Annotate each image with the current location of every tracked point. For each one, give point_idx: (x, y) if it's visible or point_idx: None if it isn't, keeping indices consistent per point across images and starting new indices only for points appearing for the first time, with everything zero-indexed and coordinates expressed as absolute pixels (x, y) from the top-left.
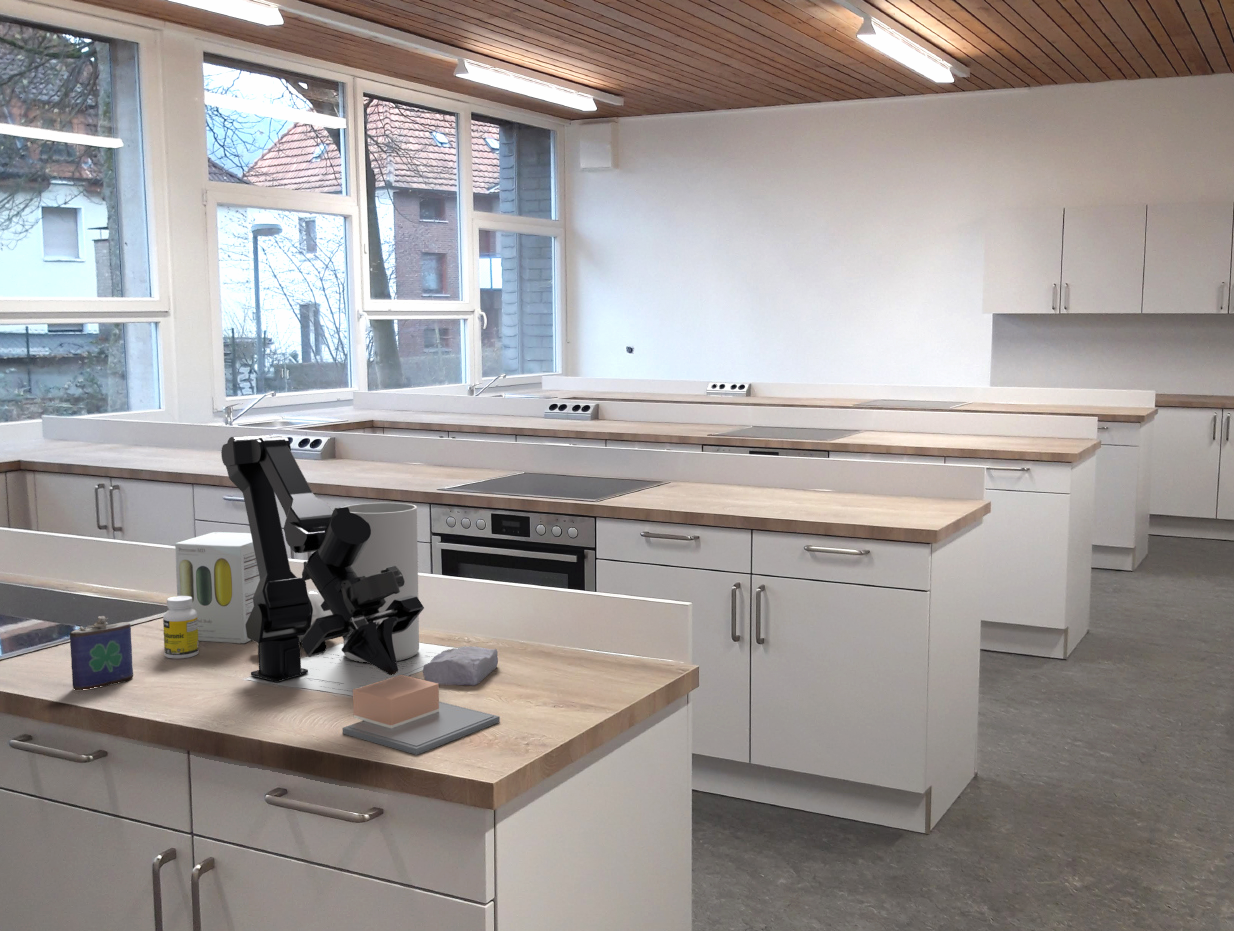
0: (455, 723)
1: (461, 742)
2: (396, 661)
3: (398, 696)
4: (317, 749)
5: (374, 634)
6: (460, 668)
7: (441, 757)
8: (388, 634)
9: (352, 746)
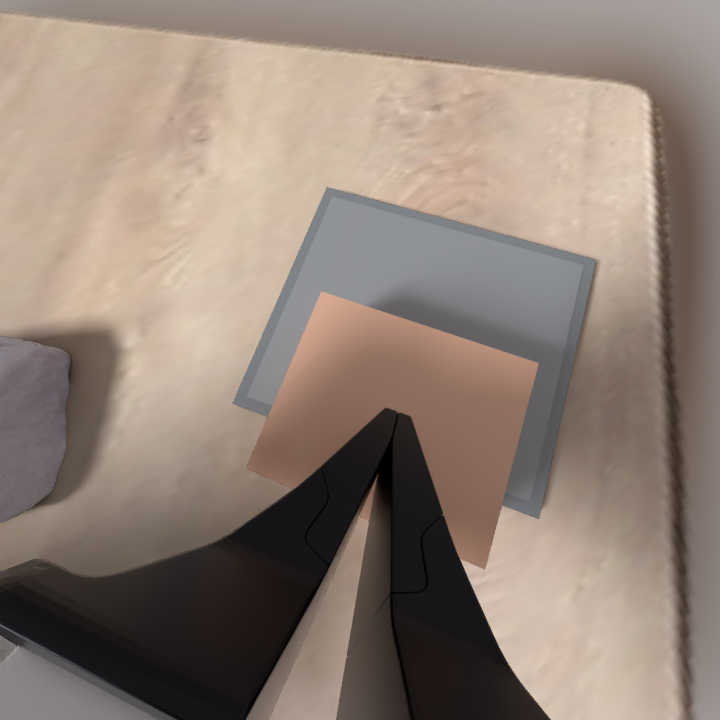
0: (408, 249)
1: (474, 216)
2: (367, 424)
3: (499, 351)
4: (665, 517)
5: (442, 659)
6: (15, 384)
7: (574, 216)
8: (266, 552)
9: (602, 436)
